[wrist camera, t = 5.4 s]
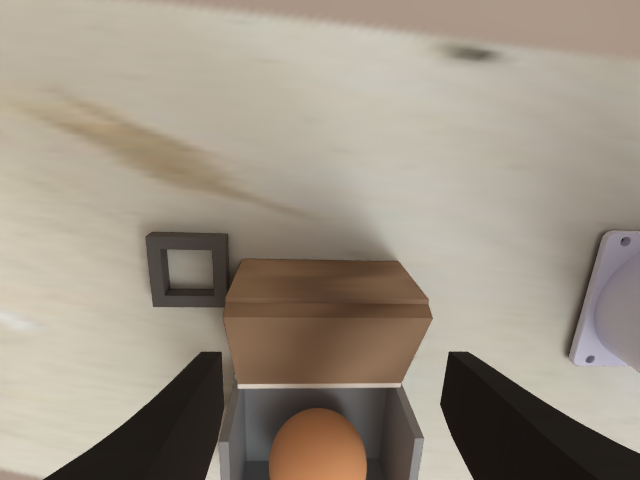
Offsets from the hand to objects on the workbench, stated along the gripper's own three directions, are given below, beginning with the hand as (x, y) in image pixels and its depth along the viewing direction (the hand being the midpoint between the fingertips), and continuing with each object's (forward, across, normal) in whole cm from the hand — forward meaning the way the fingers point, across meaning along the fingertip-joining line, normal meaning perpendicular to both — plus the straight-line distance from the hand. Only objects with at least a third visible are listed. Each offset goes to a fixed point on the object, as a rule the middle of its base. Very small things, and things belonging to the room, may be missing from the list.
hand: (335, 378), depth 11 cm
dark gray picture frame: (+8, +6, -1) cm, 10 cm away
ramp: (+8, 0, +2) cm, 8 cm away
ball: (+5, 0, +9) cm, 10 cm away
